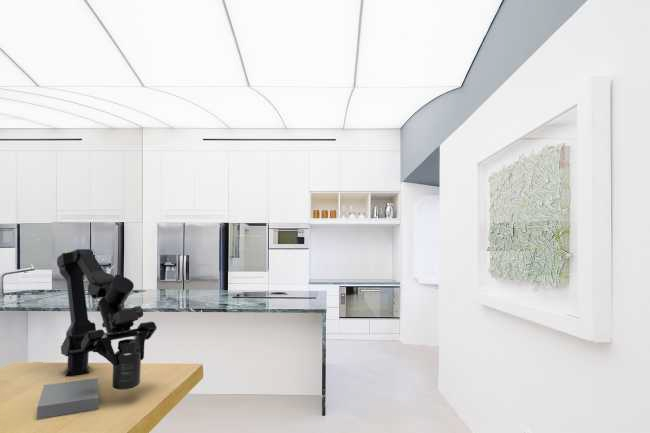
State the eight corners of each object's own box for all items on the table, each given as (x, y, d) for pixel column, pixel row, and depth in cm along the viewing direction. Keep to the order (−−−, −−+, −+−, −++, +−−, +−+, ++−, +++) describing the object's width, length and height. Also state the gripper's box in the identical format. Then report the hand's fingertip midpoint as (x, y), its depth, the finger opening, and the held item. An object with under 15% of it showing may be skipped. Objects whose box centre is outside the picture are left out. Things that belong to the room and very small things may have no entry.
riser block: (43, 396, 112) (44, 385, 113) (97, 388, 119) (98, 377, 119) (36, 419, 99) (37, 406, 99) (98, 409, 105) (99, 397, 105)
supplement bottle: (144, 381, 115) (146, 338, 115) (130, 391, 108) (133, 345, 108) (121, 380, 116) (123, 337, 116) (106, 389, 109) (108, 343, 109)
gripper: (87, 300, 108) (104, 352, 100) (155, 293, 122) (173, 338, 115) (74, 325, 112) (88, 377, 105) (140, 316, 127) (157, 360, 120)
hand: (129, 362), depth 111 cm, fingers closed on supplement bottle, 7 cm apart
